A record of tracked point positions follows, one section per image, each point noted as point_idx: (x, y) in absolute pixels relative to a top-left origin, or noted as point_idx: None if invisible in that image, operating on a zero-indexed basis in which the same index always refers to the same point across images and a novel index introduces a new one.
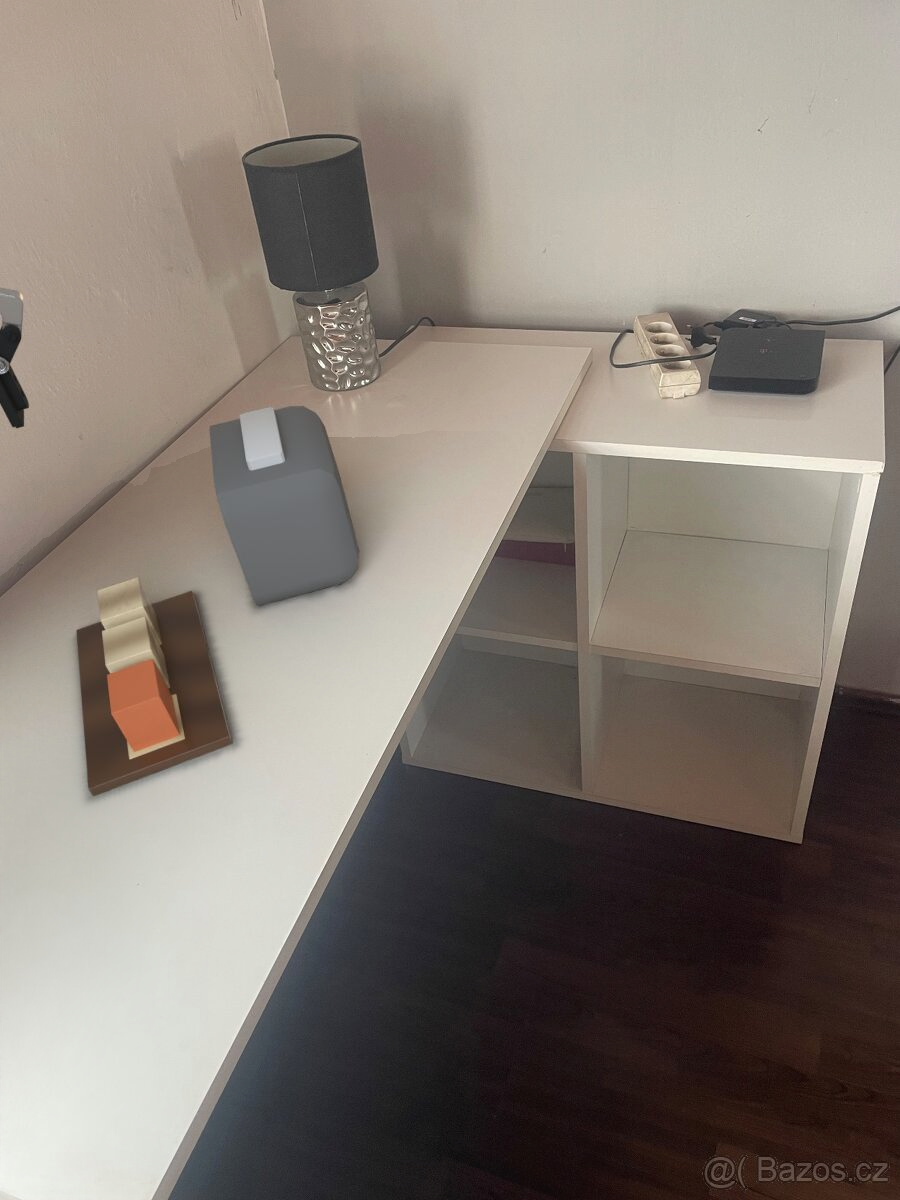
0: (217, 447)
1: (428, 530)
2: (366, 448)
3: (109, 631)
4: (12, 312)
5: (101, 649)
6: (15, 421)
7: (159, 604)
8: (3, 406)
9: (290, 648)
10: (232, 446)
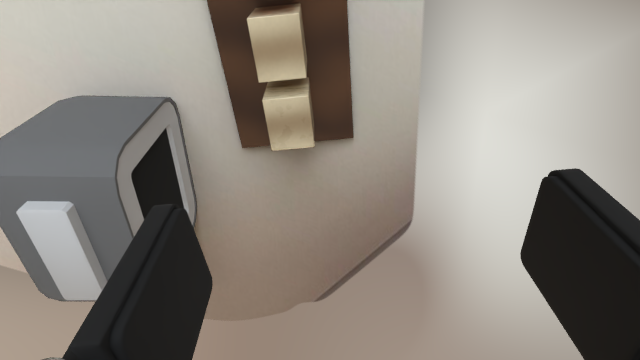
0: None
1: None
2: None
3: (297, 73)
4: None
5: (328, 99)
6: (160, 214)
7: None
8: (153, 253)
9: (135, 27)
10: (112, 255)
